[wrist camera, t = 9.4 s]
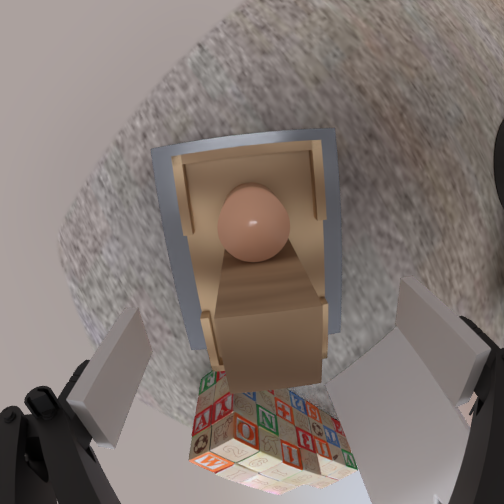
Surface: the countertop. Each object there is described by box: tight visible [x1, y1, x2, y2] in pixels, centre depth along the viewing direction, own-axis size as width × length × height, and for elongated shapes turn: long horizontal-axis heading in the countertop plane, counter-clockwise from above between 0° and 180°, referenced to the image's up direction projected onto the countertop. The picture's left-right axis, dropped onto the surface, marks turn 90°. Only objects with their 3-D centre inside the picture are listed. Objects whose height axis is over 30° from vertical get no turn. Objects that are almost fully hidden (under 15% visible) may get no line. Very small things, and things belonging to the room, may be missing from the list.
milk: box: [325, 327, 470, 504], centre depth 22 cm, size 12×12×26 cm
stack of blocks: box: [188, 370, 358, 495], centre depth 29 cm, size 21×6×12 cm, turn 45°
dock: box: [151, 128, 342, 350], centre depth 26 cm, size 14×18×4 cm
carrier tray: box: [171, 140, 328, 394], centre depth 17 cm, size 16×9×13 cm, turn 6°
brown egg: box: [217, 182, 290, 262], centre depth 17 cm, size 4×4×4 cm
